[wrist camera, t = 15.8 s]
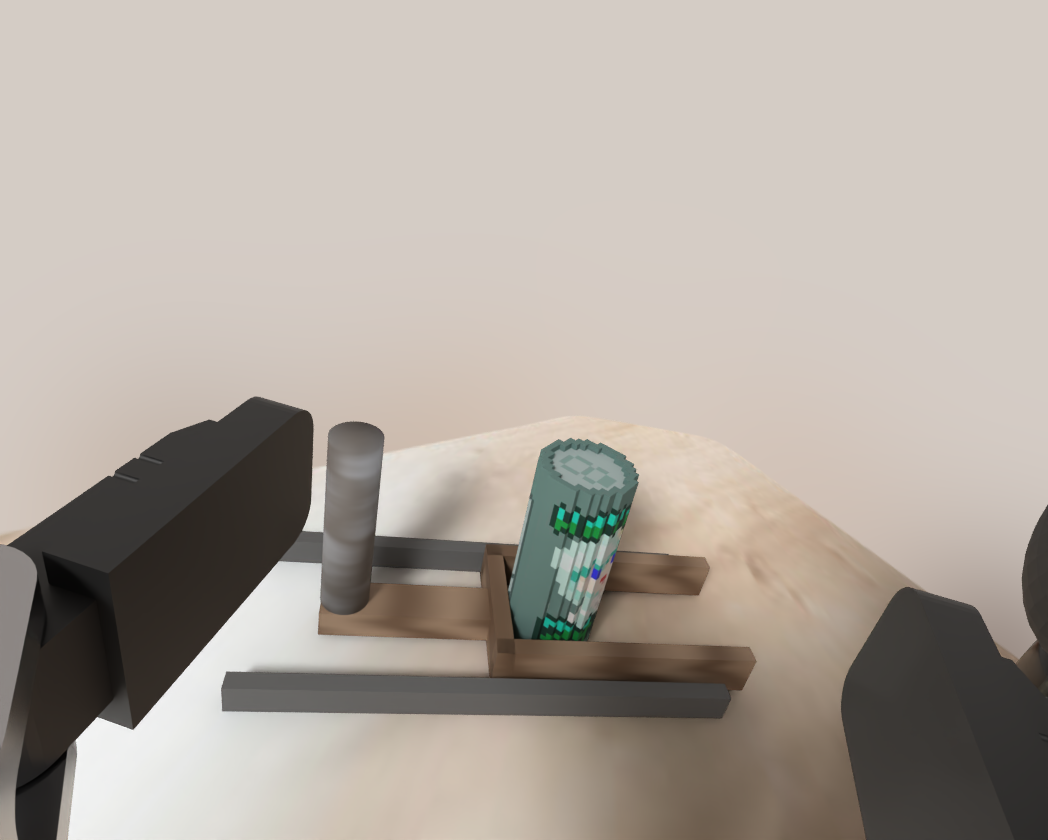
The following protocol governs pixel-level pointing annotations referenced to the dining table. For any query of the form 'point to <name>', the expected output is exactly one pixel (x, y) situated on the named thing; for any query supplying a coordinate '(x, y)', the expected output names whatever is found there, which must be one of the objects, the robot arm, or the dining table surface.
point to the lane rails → (456, 691)
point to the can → (569, 539)
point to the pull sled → (490, 593)
